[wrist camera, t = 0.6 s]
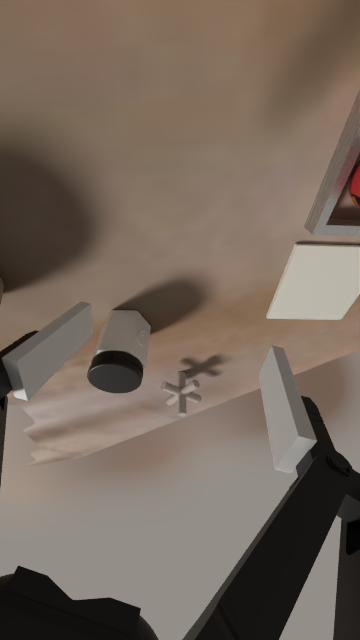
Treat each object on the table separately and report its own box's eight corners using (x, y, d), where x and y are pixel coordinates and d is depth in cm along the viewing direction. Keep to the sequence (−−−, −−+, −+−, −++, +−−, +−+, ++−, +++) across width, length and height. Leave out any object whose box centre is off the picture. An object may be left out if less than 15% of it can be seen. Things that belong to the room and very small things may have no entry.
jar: (158, 332, 44) (153, 386, 35) (124, 345, 46) (112, 399, 38) (130, 300, 38) (117, 355, 30) (94, 317, 41) (72, 372, 32)
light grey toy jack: (210, 371, 53) (216, 412, 46) (184, 388, 58) (186, 428, 51) (177, 355, 49) (177, 398, 42) (152, 376, 54) (149, 417, 47)
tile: (295, 243, 32) (296, 245, 31) (389, 246, 32) (392, 248, 32) (266, 316, 41) (266, 318, 41) (339, 317, 42) (341, 319, 41)
